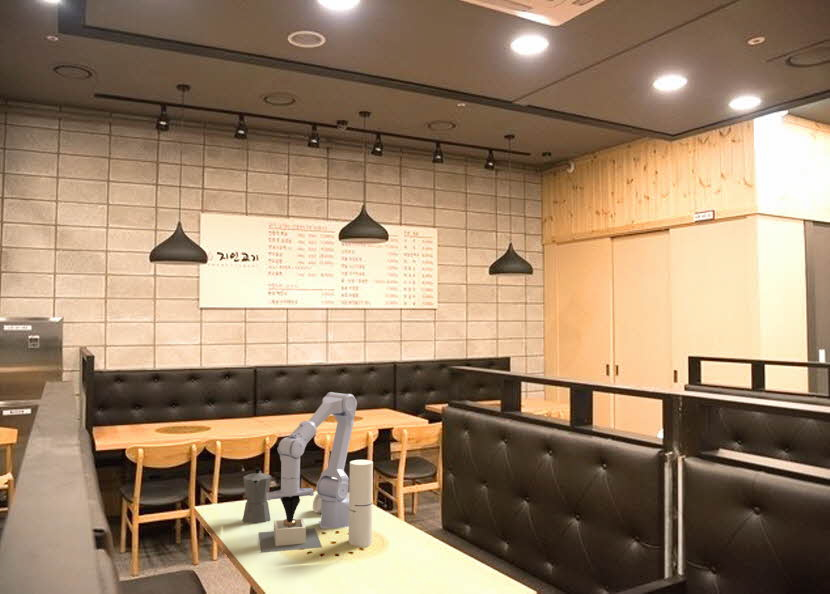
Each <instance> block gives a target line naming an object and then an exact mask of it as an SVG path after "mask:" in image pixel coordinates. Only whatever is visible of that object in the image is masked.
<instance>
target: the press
mask: <svg viewBox="0 0 830 594" xmlns="http://www.w3.org/2000/svg"><path fill="white" fill-rule="evenodd" d="M294 519H295V520H296V525H294V526H292V528H288V526H284V525H283V522H284V520H285V519H279V520H278V519H277V520H273V531H274V540H275V546H280V545H292V544H304V543H306V529H307V527H306V524H305V521H304V518H294Z"/></svg>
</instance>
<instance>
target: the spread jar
mask: <svg viewBox="0 0 830 594" xmlns="http://www.w3.org/2000/svg"><path fill="white" fill-rule="evenodd" d="M332 479H337V478H335V477H332ZM345 498H349V485H348V493H347V495H346V497H345ZM312 510H313V512H314V513H317V514H320V513H321V498H320V495H319V494H318V493H317V494H316V495H315V497H314V498H313V501H312Z"/></svg>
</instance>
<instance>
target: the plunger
mask: <svg viewBox="0 0 830 594" xmlns="http://www.w3.org/2000/svg"><path fill="white" fill-rule="evenodd" d="M295 519H296V518H293V521H291V522H288V521H287V518H286V519H283V520H284V522H283V525H284V526H288V528H292V526H294V525H296V520H295Z"/></svg>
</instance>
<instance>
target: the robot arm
mask: <svg viewBox="0 0 830 594" xmlns="http://www.w3.org/2000/svg"><path fill="white" fill-rule="evenodd" d="M357 406H358V402H357V399H356V398H355V396H354V395H353V394H352V393H340V392H333V391H330V392H327V394H326V395H325V396H323V398H322V403H321V405H320V406H318V408H317V410H316V411H315V412H313V415H311V417H310V419H309V420H303V421H301V422H300V423H299V425H298V426H297V427H296V428H295V429H294V430H293V432H291V433H290V435H288V437H284V438H282V439H281V440H279V441H280V442H279V443H278V447H277V448H276V449H277V453H278V454H279V459H280V463H281V464H280V465H281V466H280V467H281V468H280V469H281V471H280V489H279V490H274V491H269V492H267V493H266V499H267V501H272V500H278V499H279V500H280V501H281V503H282V506H283V509H284V512H285V517H286V519H287V521H288V522H291V521H293V519H294V516H295V514H296V513H295V512H296V510H297V508H298V506H299V504H300V501H301V497H307V496H310V497H313V496H314V495H315V493H314V488H313V487H311V488H310V487H309V488H305V487H304V488H301V486H300V482H301V480H300V478H301V457H302V456H304V455H303V454H304V452H305V449H306V447H307V445H308V443H309V442H310V441H311V440H312V439H313V438H314V436H315V435H317V428H318V427H319V426H321V424H322V423H324V421H325V420H326V419H328V418H329V417H330V416H331V415H332V416H333V417H334V418H335V420H336V421H337V423H336V428H335V432H334V437H333V441H332V442H333V443H332V447H331V452H330V455H329V461H328V466H327V468H326V469H324V470H322V472H321V473H320V476H319V480H318V481H317V483H316V492H317V494H319V495H320V498H321V512H320V513H321V514H320V520H318V524H319V526H320V528H321V529H322V530H323V529H324V530H325V529H336V528H349V498H345V497H346V495H347V493H348V486H349V481H350V477H348V475H347V473H346V471H345V466H346V461H347V456H348V452H349V446H350V443H351V442H350V441H351V437H352V432H353V429H354V428H353V427H354V422H355V417H356V411H357ZM332 477H335V478H337V479H332Z"/></svg>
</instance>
